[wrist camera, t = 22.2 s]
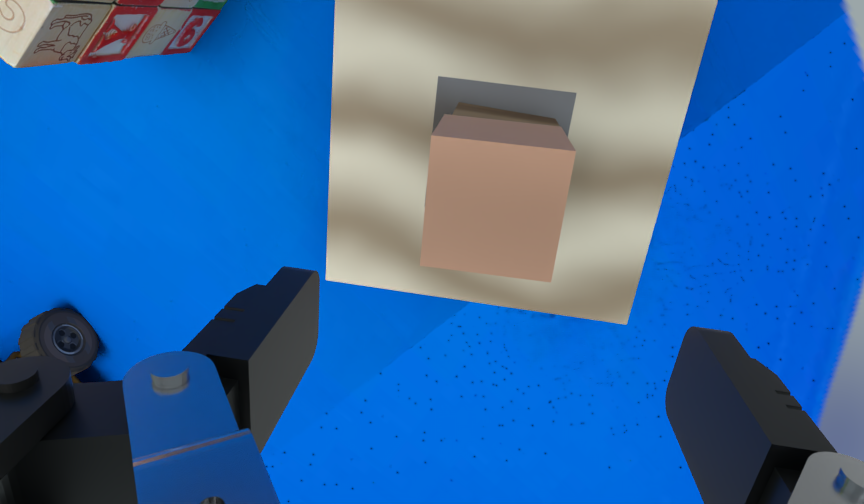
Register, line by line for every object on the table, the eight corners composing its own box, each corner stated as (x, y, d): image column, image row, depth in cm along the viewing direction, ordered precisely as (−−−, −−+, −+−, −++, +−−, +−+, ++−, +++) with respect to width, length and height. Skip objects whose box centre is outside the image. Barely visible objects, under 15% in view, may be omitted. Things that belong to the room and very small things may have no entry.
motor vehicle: (110, 503, 45) (14, 620, 36) (-45, 329, 40) (-201, 416, 31) (210, 465, 42) (132, 582, 33) (57, 273, 37) (-83, 351, 28)
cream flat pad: (342, -55, 27) (336, -58, 26) (714, -15, 26) (723, -17, 25) (330, 273, 34) (325, 280, 33) (623, 316, 33) (627, 325, 32)
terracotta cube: (444, 113, 24) (431, 135, 19) (561, 126, 23) (576, 151, 19) (434, 222, 26) (419, 265, 21) (542, 235, 25) (550, 282, 21)
